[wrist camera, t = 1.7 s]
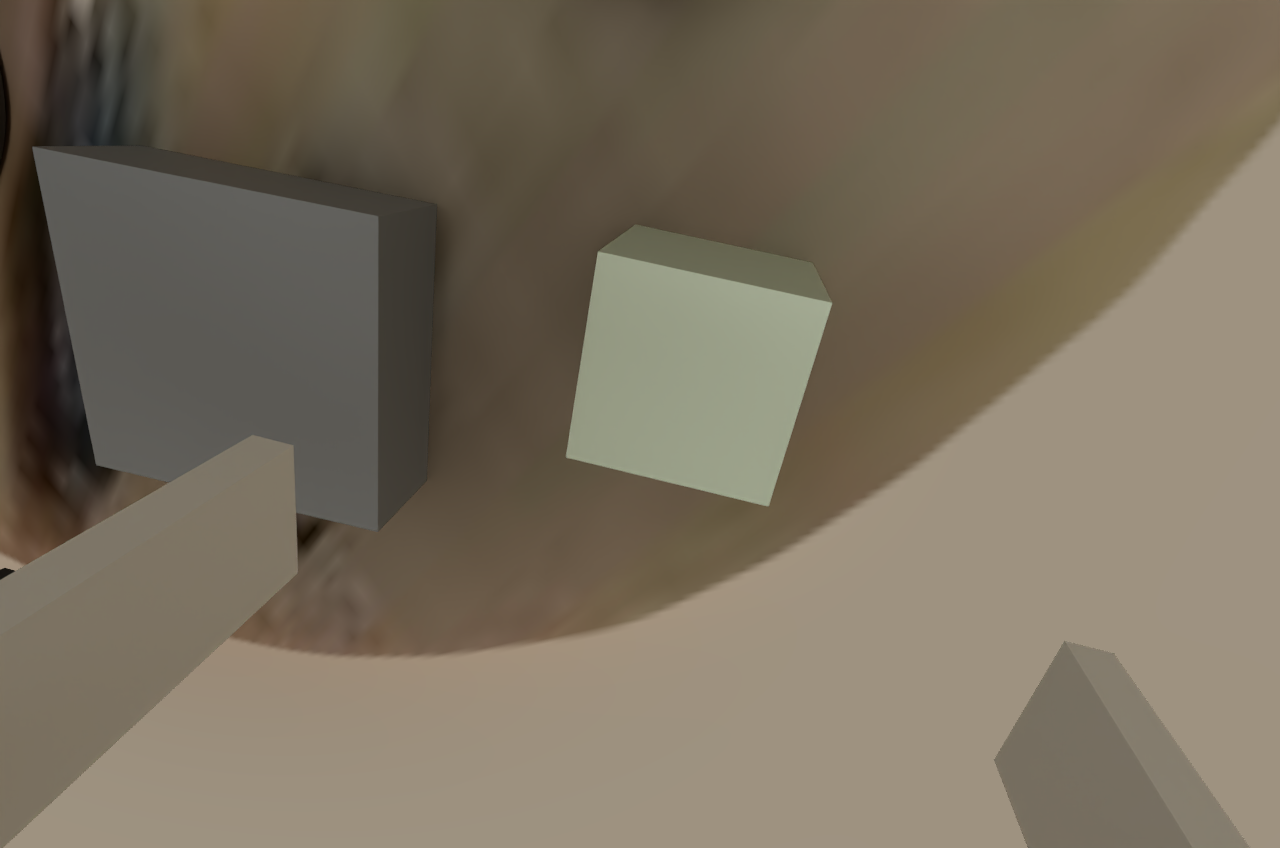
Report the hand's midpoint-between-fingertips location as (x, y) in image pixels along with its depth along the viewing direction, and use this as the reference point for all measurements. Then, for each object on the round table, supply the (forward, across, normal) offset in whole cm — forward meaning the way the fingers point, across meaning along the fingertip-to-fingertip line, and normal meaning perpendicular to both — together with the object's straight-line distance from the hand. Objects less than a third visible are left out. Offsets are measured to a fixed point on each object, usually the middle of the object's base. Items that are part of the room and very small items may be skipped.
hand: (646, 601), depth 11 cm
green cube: (+17, 0, 0) cm, 17 cm away
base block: (+18, -18, -4) cm, 26 cm away
